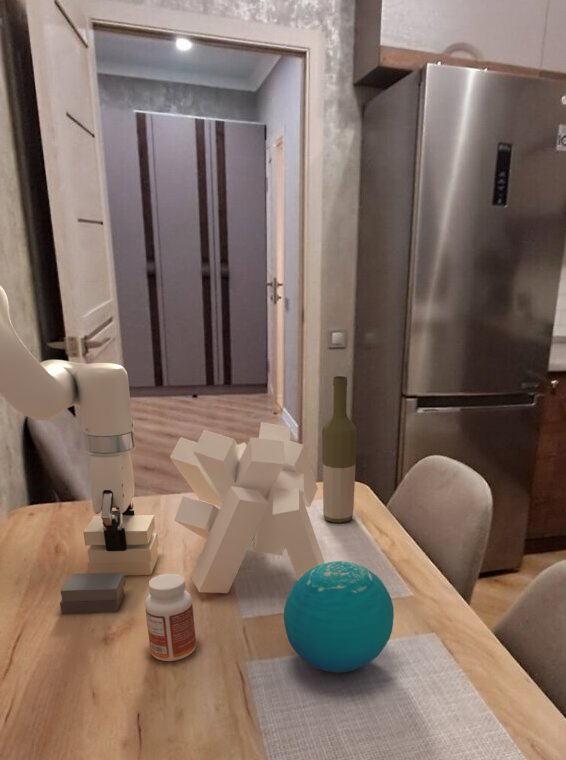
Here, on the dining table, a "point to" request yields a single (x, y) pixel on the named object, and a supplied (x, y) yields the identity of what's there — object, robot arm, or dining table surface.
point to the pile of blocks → (247, 502)
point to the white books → (124, 559)
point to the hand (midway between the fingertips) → (121, 540)
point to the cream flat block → (135, 527)
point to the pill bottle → (170, 618)
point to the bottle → (339, 458)
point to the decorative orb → (338, 616)
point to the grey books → (92, 593)
